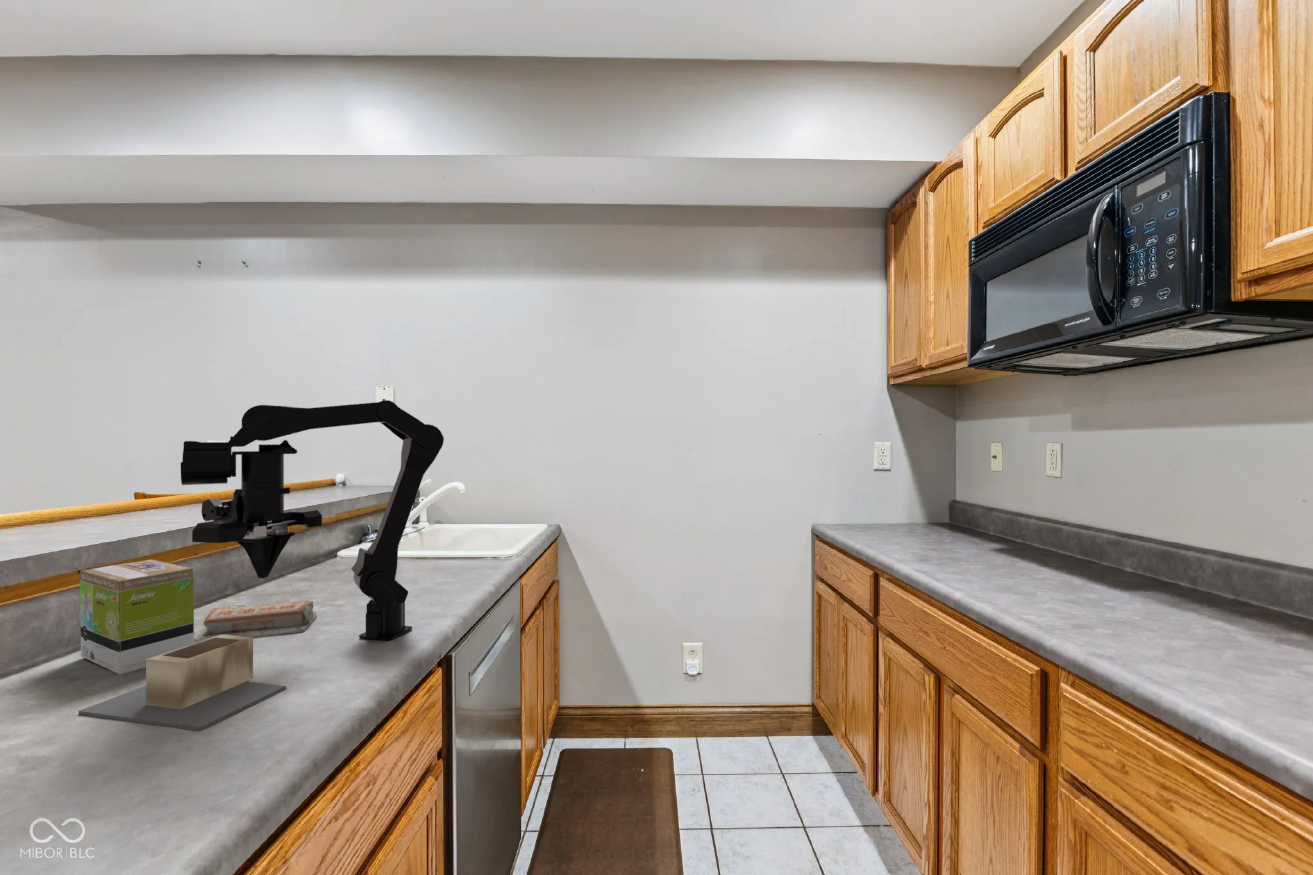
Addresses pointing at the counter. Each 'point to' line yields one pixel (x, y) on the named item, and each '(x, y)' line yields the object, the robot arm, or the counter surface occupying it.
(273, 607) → the packaged product
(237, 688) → the rubber mat
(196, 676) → the birch block
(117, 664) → the tea box
